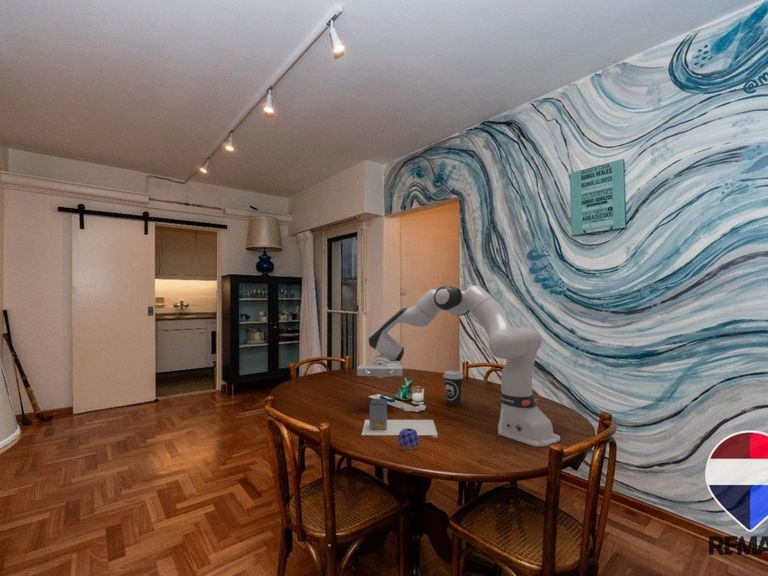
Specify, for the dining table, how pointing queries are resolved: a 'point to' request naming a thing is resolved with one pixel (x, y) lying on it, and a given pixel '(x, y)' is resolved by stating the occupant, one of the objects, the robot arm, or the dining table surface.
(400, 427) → the placemat
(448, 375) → the coffee cup
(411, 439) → the pudding
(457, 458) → the dining table surface
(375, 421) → the block
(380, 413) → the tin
